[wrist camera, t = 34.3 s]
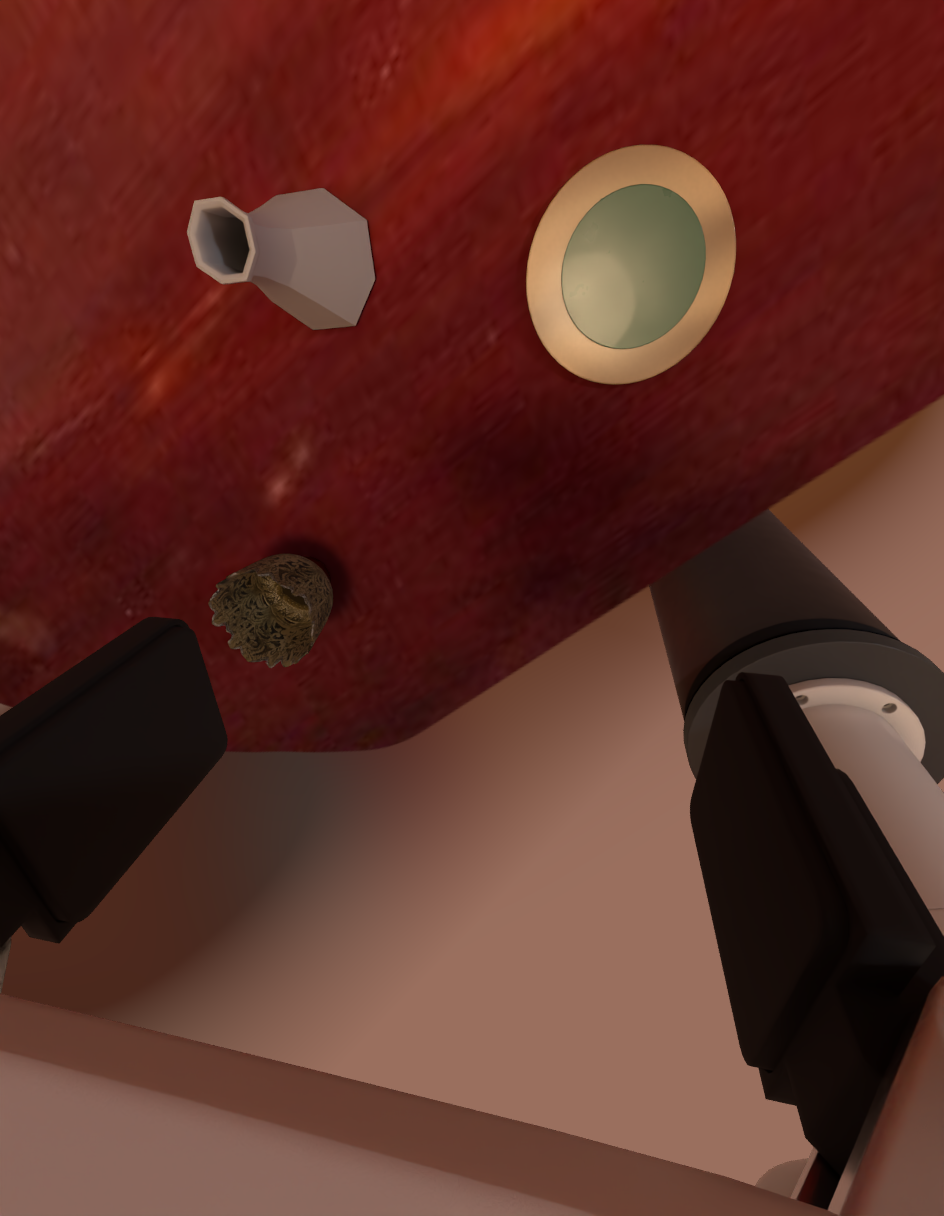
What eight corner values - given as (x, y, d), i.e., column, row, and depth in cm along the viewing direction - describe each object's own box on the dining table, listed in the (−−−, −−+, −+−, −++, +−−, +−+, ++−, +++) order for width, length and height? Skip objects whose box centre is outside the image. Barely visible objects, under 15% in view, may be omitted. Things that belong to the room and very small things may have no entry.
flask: (385, 205, 29) (304, 157, 21) (368, 345, 33) (294, 353, 24) (265, 172, 29) (135, 111, 21) (261, 314, 33) (150, 312, 25)
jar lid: (539, 247, 28) (536, 243, 27) (668, 154, 26) (673, 144, 24) (595, 372, 31) (596, 375, 29) (718, 300, 28) (726, 299, 27)
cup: (371, 602, 42) (331, 657, 35) (298, 623, 45) (247, 678, 38) (328, 518, 39) (275, 560, 32) (253, 545, 42) (188, 590, 35)
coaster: (762, 315, 28) (765, 314, 28) (577, 418, 33) (578, 419, 32) (689, 89, 25) (691, 85, 24) (492, 238, 29) (490, 237, 29)
